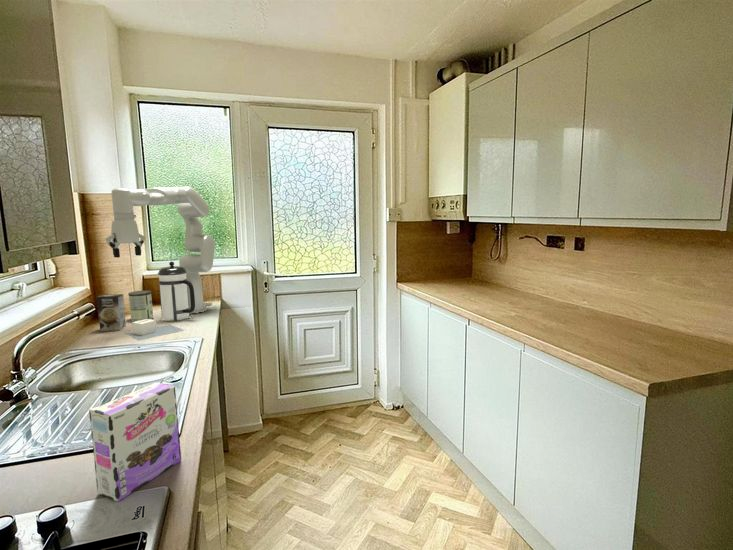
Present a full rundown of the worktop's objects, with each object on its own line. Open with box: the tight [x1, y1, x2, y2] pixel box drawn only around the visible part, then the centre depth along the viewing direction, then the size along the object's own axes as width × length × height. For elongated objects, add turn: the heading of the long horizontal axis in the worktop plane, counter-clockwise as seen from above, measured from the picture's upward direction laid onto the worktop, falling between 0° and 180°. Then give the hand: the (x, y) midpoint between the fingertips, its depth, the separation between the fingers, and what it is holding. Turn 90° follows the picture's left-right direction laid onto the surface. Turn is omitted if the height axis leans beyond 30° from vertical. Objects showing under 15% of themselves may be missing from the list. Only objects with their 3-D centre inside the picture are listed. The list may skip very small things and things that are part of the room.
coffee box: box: [96, 293, 127, 332], centre depth 187 cm, size 9×6×16 cm
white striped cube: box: [131, 319, 157, 335], centre depth 175 cm, size 6×6×5 cm
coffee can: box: [128, 290, 154, 322], centre depth 205 cm, size 10×10×14 cm
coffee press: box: [157, 261, 195, 322], centre depth 198 cm, size 17×16×30 cm
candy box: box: [88, 381, 182, 502], centre depth 77 cm, size 14×6×16 cm, turn 155°
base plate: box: [125, 324, 186, 341], centre depth 176 cm, size 19×16×2 cm
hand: (127, 256), depth 178 cm, fingers open, 9 cm apart
